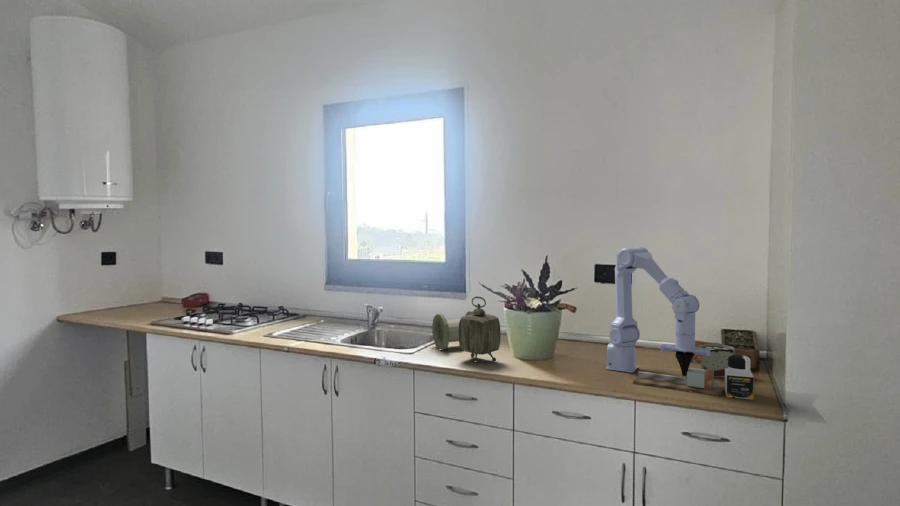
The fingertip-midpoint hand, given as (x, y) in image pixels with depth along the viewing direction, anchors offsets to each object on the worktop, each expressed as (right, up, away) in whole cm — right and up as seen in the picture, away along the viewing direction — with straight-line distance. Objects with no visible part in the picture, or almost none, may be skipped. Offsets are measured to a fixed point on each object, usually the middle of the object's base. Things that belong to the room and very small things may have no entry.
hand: (684, 375), depth 175 cm
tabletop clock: (-64, -3, +35) cm, 73 cm away
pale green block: (+3, -3, -2) cm, 4 cm away
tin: (+19, -2, +27) cm, 33 cm away
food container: (+15, -3, +13) cm, 20 cm away
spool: (-72, -1, +58) cm, 93 cm away
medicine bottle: (+13, -4, -9) cm, 16 cm away
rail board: (-2, -4, +1) cm, 4 cm away
